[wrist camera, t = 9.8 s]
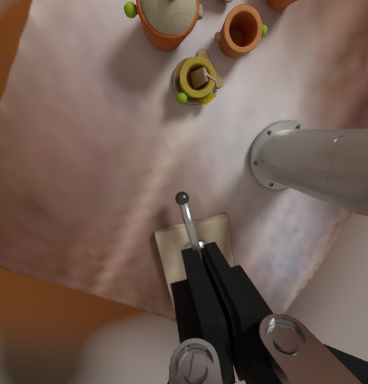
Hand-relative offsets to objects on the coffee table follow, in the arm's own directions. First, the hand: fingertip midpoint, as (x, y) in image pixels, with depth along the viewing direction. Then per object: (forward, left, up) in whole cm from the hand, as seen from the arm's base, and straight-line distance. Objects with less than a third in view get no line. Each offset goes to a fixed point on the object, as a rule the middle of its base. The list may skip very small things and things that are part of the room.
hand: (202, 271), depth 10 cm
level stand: (-3, +20, -27) cm, 34 cm away
